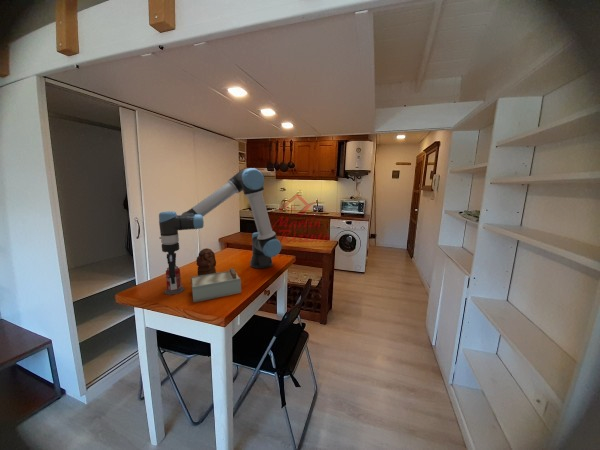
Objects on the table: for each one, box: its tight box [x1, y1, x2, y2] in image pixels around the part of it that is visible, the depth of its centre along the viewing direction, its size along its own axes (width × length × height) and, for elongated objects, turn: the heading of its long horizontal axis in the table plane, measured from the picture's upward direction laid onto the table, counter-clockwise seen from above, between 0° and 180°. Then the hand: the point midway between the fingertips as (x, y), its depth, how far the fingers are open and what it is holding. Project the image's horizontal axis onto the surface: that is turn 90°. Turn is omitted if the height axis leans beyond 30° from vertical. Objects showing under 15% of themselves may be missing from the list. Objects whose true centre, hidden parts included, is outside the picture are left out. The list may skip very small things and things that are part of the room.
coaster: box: [164, 285, 185, 296], centre depth 114 cm, size 9×9×1 cm
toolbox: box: [190, 269, 242, 303], centre depth 113 cm, size 22×13×8 cm, turn 118°
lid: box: [191, 267, 240, 287], centre depth 112 cm, size 21×11×3 cm, turn 118°
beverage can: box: [165, 265, 182, 292], centre depth 113 cm, size 6×6×12 cm
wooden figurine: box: [195, 247, 217, 276], centre depth 128 cm, size 12×6×18 cm, turn 167°
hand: (174, 285), depth 114 cm, fingers open, 9 cm apart
